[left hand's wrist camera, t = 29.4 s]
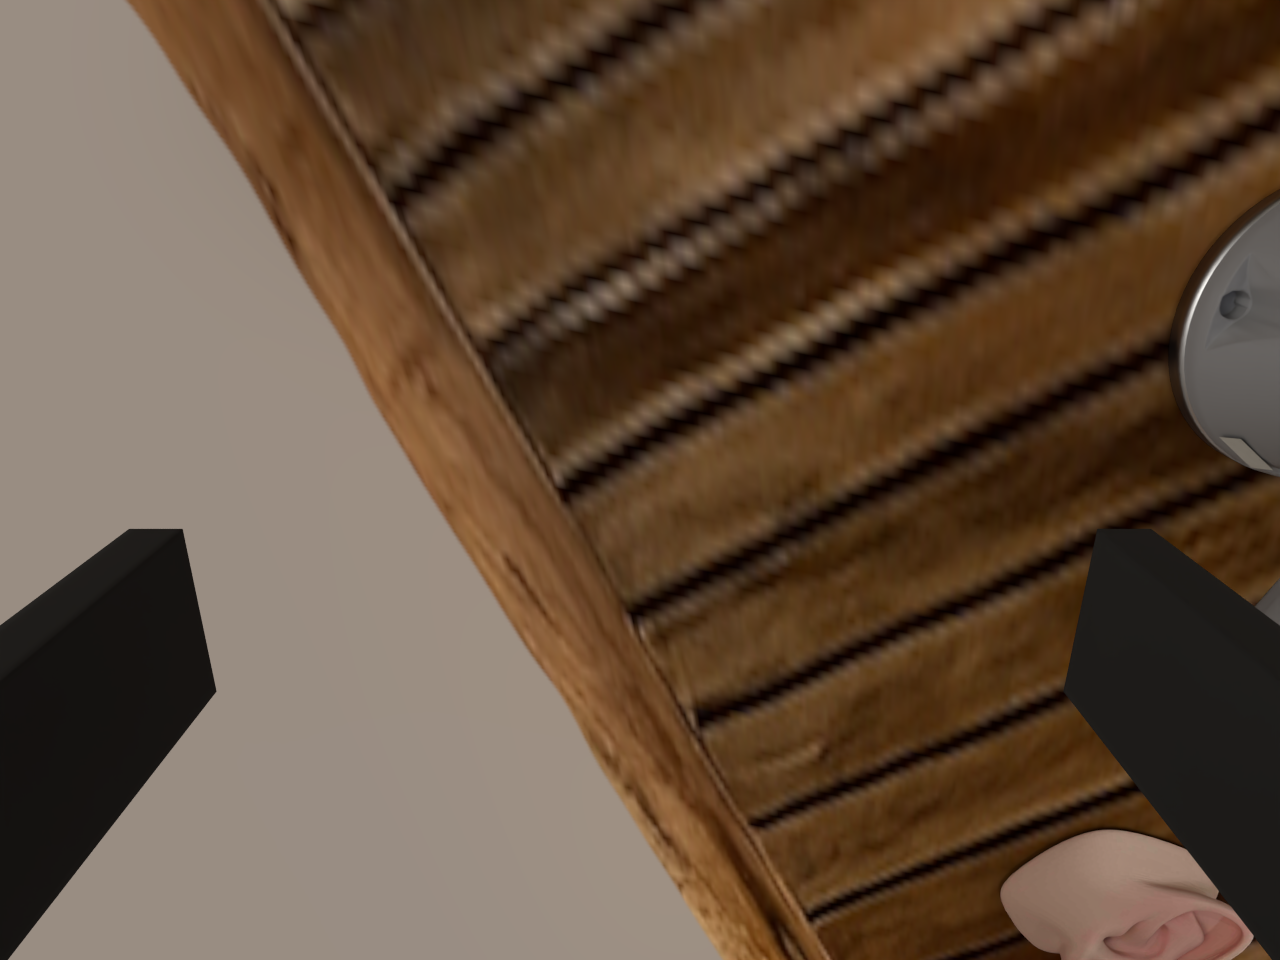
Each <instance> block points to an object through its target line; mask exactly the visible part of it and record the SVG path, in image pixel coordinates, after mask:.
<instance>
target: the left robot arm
mask: <svg viewBox="0 0 1280 960" xmlns="http://www.w3.org/2000/svg"><path fill="white" fill-rule="evenodd" d="M1169 374H1170V381H1171V386H1172V390H1173V394H1174V397H1175V399H1176V402H1177V405H1178V407H1179V409H1180V411H1181V413H1182V415H1183V417H1184V418H1185V420H1186V421H1187V423H1188V424H1189V426H1190V427H1191V428H1192V429H1193V431H1194V432H1195V433H1196V434H1197V435H1198V436H1199V437H1200V438H1201V439H1202V440H1203V441H1204V442H1205V443H1206V444H1208V445H1209V446H1211V447H1212V448H1213V449H1215V450H1216V451H1218V452H1220V453H1221V454H1223V455H1225V456H1227V457H1229V458H1231V459H1233V460H1234V461H1236V462H1238V463H1240V464H1242V465H1244V466H1247V467H1249V468H1252V469H1254V470H1257V471H1261V472H1264V473H1267V474H1270V475H1274V476H1278V477H1280V189H1279V190H1278V191H1276V192H1274V193H1273V194H1271V195H1269V196H1268V197H1266V198H1265V199H1263V200H1262V201H1260V202H1259V203H1257V204H1256V205H1255V206H1253V207H1252V208H1251V209H1249V210H1248V211H1247V212H1246V213H1244V214H1243V215H1242V216H1241V217H1240V218H1239V219H1237V220H1236V221H1235V222H1234V223H1233V224H1232V225H1231V226H1230V227H1229V228H1228V229H1227V230H1226V231H1225V232H1224V233H1223V234H1222V235H1221V236H1220V237H1219V239H1218V240H1217V241H1216V242H1215V243H1214V244H1213V246H1212V247H1211V248H1210V249H1209V251H1208V252H1207V253H1206V255H1205V256H1204V258H1203V259H1202V260H1201V262H1200V263H1199V265H1198V266H1197V268H1196V270H1195V271H1194V273H1193V275H1192V276H1191V278H1190V280H1189V282H1188V284H1187V286H1186V288H1185V290H1184V292H1183V295H1182V297H1181V300H1180V302H1179V304H1178V307H1177V310H1176V314H1175V317H1174V320H1173V325H1172V330H1171V334H1170V342H1169ZM215 693H216V687H215V682H214V677H213V673H212V668H211V663H210V658H209V654H208V649H207V644H206V639H205V634H204V630H203V625H202V620H201V615H200V610H199V606H198V601H197V596H196V591H195V587H194V582H193V577H192V572H191V567H190V563H189V558H188V553H187V548H186V543H185V538H184V534H183V529H129V530H127V531H126V532H125V533H123V534H122V535H120V536H119V537H118V538H116V539H115V540H114V541H112V542H111V543H110V544H108V545H107V546H106V547H104V548H103V549H102V550H100V551H99V552H98V553H96V554H95V555H94V556H92V557H91V558H90V559H88V560H87V561H86V562H84V563H83V564H82V565H80V566H79V567H78V568H76V569H75V570H74V571H72V572H71V573H70V574H68V575H67V576H66V577H64V578H63V579H62V580H60V581H59V582H58V583H56V584H55V585H54V586H52V587H51V588H50V589H48V590H47V591H46V592H44V593H43V594H42V595H40V596H39V597H38V598H36V599H35V600H34V601H32V602H31V603H30V604H28V605H27V606H26V607H24V608H23V609H22V610H20V611H19V612H18V613H16V614H15V615H14V616H12V617H11V618H10V619H8V620H7V621H6V622H4V623H3V624H2V625H0V960H8V959H9V957H10V956H11V955H12V954H13V952H14V951H15V950H16V948H17V947H18V946H19V945H20V943H21V942H22V941H23V939H24V938H25V937H26V936H27V934H28V933H29V932H30V930H31V929H32V928H33V927H34V925H35V924H36V923H37V921H38V920H39V919H40V918H41V916H42V915H43V914H44V912H45V911H46V910H47V909H48V907H49V906H50V905H51V903H52V902H53V901H54V900H55V898H56V897H57V896H58V894H59V893H60V892H61V891H62V889H63V888H64V887H65V885H66V884H67V883H68V882H69V880H70V879H71V878H72V876H73V875H74V874H75V873H76V871H77V870H78V869H79V867H80V866H81V865H82V864H83V862H84V861H85V860H86V858H87V857H88V856H89V855H90V853H91V852H92V851H93V849H94V848H95V847H96V846H97V844H98V843H99V842H100V840H101V839H102V838H103V837H104V835H105V834H106V833H107V831H108V830H109V829H110V828H111V826H112V825H113V824H114V822H115V821H116V820H117V819H118V817H119V816H120V815H121V813H122V812H123V811H124V810H125V808H126V807H127V806H128V804H129V803H130V802H131V801H132V799H133V798H134V797H135V795H136V794H137V793H138V792H139V790H140V789H141V788H142V786H143V785H144V784H145V783H146V781H147V780H148V779H149V777H150V776H151V775H152V774H153V772H154V771H155V770H156V768H157V767H158V766H159V765H160V763H161V762H162V761H163V759H164V758H165V757H166V756H167V754H168V753H169V752H170V750H171V749H172V748H173V747H174V745H175V744H176V743H177V741H178V740H179V739H180V738H181V736H182V735H183V734H184V732H185V731H186V730H187V729H188V727H189V726H190V725H191V723H192V722H193V721H194V720H195V718H196V717H197V716H198V714H199V713H200V712H201V711H202V709H203V708H204V707H205V705H206V704H207V703H208V702H209V700H210V699H211V698H212V696H213V695H214V694H215ZM1064 693H1065V694H1066V695H1067V696H1068V698H1069V699H1070V700H1071V702H1072V703H1073V704H1074V705H1075V707H1076V708H1077V709H1078V711H1079V712H1080V713H1081V714H1082V716H1083V717H1084V718H1085V720H1086V721H1087V722H1088V723H1089V725H1090V726H1091V727H1092V729H1093V730H1094V731H1095V732H1096V734H1097V735H1098V736H1099V738H1100V739H1101V740H1102V741H1103V743H1104V744H1105V745H1106V747H1107V748H1108V749H1109V750H1110V752H1111V753H1112V754H1113V756H1114V757H1115V758H1116V759H1117V761H1118V762H1119V763H1120V765H1121V766H1122V767H1123V768H1124V770H1125V771H1126V772H1127V774H1128V775H1129V776H1130V777H1131V779H1132V780H1133V781H1134V783H1135V784H1136V785H1137V786H1138V788H1139V789H1140V790H1141V792H1142V793H1143V794H1144V795H1145V797H1146V798H1147V799H1148V801H1149V802H1150V803H1151V804H1152V806H1153V807H1154V808H1155V810H1156V811H1157V812H1158V813H1159V815H1160V816H1161V817H1162V819H1163V820H1164V821H1165V822H1166V824H1167V825H1168V826H1169V828H1170V829H1171V830H1172V831H1173V833H1174V834H1175V835H1176V837H1177V838H1178V839H1179V840H1180V842H1181V843H1182V844H1183V846H1184V847H1185V848H1186V849H1187V851H1188V852H1189V853H1190V855H1191V856H1192V857H1193V858H1194V860H1195V861H1196V862H1197V864H1198V865H1199V866H1200V867H1201V869H1202V870H1203V871H1204V873H1205V874H1206V875H1207V876H1208V878H1209V879H1210V880H1211V882H1212V883H1213V884H1214V885H1215V887H1216V888H1217V889H1218V891H1219V892H1220V893H1221V894H1222V896H1223V897H1224V898H1225V900H1226V901H1227V902H1228V903H1229V905H1230V906H1231V907H1232V909H1233V910H1234V911H1235V912H1236V914H1237V915H1238V916H1239V918H1240V919H1241V920H1242V921H1243V923H1244V924H1245V925H1246V927H1247V928H1248V929H1249V930H1250V932H1251V933H1252V934H1253V936H1254V937H1255V938H1256V939H1257V941H1258V942H1259V943H1260V945H1261V946H1262V947H1263V948H1264V950H1265V951H1266V952H1267V954H1268V955H1269V956H1270V957H1271V959H1272V960H1280V578H1279V579H1278V581H1277V582H1276V583H1275V584H1274V585H1273V586H1272V587H1271V589H1270V590H1269V591H1268V592H1267V593H1266V594H1265V595H1264V597H1263V598H1262V599H1261V600H1260V601H1259V602H1258V603H1257V605H1256V606H1255V607H1254V606H1253V605H1252V604H1250V603H1249V602H1248V601H1246V600H1245V599H1244V598H1242V597H1241V596H1240V595H1238V594H1237V593H1236V592H1234V591H1233V590H1232V589H1230V588H1229V587H1228V586H1226V585H1225V584H1224V583H1222V582H1221V581H1220V580H1218V579H1217V578H1216V577H1214V576H1213V575H1212V574H1210V573H1209V572H1208V571H1206V570H1205V569H1204V568H1202V567H1201V566H1200V565H1198V564H1197V563H1196V562H1194V561H1193V560H1192V559H1190V558H1189V557H1188V556H1186V555H1185V554H1184V553H1182V552H1181V551H1180V550H1178V549H1177V548H1176V547H1174V546H1173V545H1172V544H1170V543H1169V542H1168V541H1166V540H1165V539H1164V538H1162V537H1161V536H1160V535H1158V534H1157V533H1156V532H1154V531H1153V530H1152V529H1097V534H1096V538H1095V543H1094V548H1093V553H1092V558H1091V562H1090V567H1089V572H1088V577H1087V582H1086V586H1085V591H1084V596H1083V601H1082V606H1081V610H1080V615H1079V620H1078V625H1077V629H1076V634H1075V639H1074V644H1073V649H1072V653H1071V658H1070V663H1069V668H1068V673H1067V677H1066V682H1065V687H1064Z"/></svg>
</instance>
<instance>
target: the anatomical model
mask: <svg viewBox="0 0 1280 960" xmlns="http://www.w3.org/2000/svg"><path fill="white" fill-rule="evenodd" d="M1218 892H1219V891H1218V889H1217V888H1216V887H1215V885H1214V884H1213V883H1212V882H1211V880H1210V879H1209V878H1208V876H1207V875H1206V874H1205V873H1204V871H1203V870H1202V869H1201V867H1200V866H1199V865H1198V864H1197V862H1196V861H1195V860H1194V858H1193V857H1192V856H1191V855H1190V853H1189V852H1188V851H1187V850H1186V849H1184V848H1182V847H1179V846H1176V845H1174V844H1171V843H1168V842H1165V841H1162V840H1159V839H1156V838H1153V837H1149V836H1146V835H1142V834H1138V833H1133V832H1128V831H1121V830H1097V831H1091V832H1087V833H1083V834H1080V835H1077V836H1074V837H1072V838H1070V839H1067V840H1065V841H1063V842H1061V843H1059V844H1057V845H1055V846H1053V847H1051V848H1049V849H1048V850H1046V851H1044V852H1043V853H1041V854H1039V855H1038V856H1036V857H1035V858H1033V859H1032V860H1030V861H1029V862H1027V863H1026V864H1024V865H1023V866H1022V867H1021V868H1019V869H1018V870H1017V871H1016V872H1014V873H1013V874H1012V875H1011V876H1010V877H1009V878H1008V879H1007V880H1006V881H1005V883H1004V884H1003V886H1002V889H1001V893H1000V895H1001V900H1002V903H1003V905H1004V908H1005V910H1006V911H1007V913H1008V915H1009V916H1010V918H1011V919H1012V921H1013V923H1014V924H1015V926H1016V927H1017V928H1018V930H1019V931H1020V932H1021V933H1022V934H1023V935H1024V936H1025V937H1026V938H1027V939H1028V940H1029V941H1030V942H1031V943H1032V944H1033V945H1034V946H1036V947H1037V948H1039V949H1041V950H1044V951H1047V952H1051V953H1060V955H1061V959H1062V960H1231V959H1233V958H1234V957H1236V956H1237V955H1238V954H1240V953H1241V952H1242V951H1243V950H1244V949H1245V948H1246V947H1247V946H1248V945H1249V944H1250V943H1251V941H1252V939H1253V934H1252V933H1251V932H1250V930H1249V929H1248V928H1247V927H1246V925H1245V924H1244V923H1243V921H1242V920H1241V919H1240V918H1239V916H1238V915H1237V914H1236V912H1235V911H1234V910H1233V909H1232V907H1231V906H1230V905H1228V904H1226V903H1224V902H1222V901H1219V900H1216V897H1217V895H1218Z"/></svg>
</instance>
